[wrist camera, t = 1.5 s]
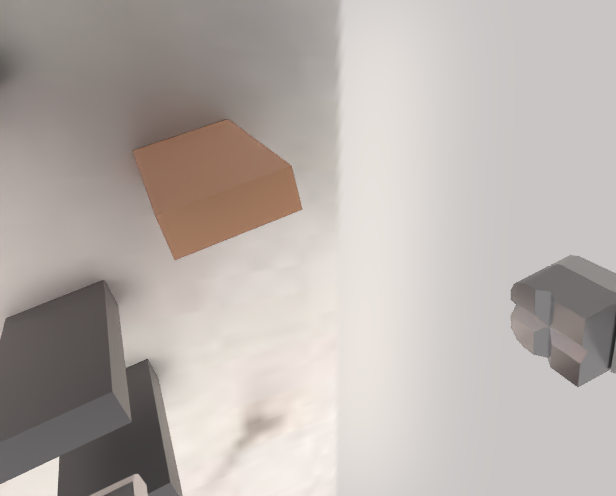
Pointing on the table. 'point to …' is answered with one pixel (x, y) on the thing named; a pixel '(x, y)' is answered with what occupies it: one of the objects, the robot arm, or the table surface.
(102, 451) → the tile
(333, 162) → the table surface
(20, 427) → the tile
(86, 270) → the table surface
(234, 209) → the tile
